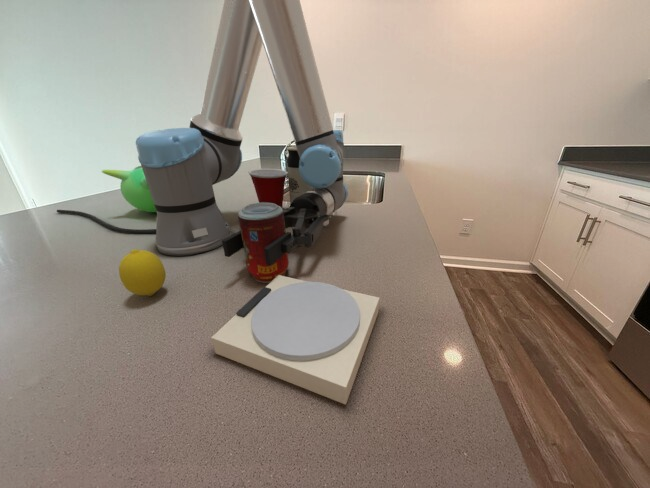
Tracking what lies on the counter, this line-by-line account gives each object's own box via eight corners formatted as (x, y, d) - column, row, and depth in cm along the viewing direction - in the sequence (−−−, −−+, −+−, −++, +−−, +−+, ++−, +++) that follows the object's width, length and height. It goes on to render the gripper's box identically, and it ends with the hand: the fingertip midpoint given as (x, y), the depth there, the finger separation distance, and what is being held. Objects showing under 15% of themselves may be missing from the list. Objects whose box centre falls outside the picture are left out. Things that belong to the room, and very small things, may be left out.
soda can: (246, 268, 47) (235, 203, 42) (284, 261, 50) (278, 198, 44) (251, 289, 41) (238, 217, 36) (293, 279, 44) (288, 210, 38)
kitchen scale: (215, 353, 30) (209, 332, 28) (279, 287, 41) (277, 270, 40) (345, 405, 24) (346, 381, 23) (378, 312, 36) (380, 292, 34)
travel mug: (309, 205, 82) (306, 145, 74) (322, 212, 76) (320, 147, 68) (286, 210, 78) (280, 147, 70) (298, 217, 72) (293, 149, 64)
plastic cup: (283, 218, 71) (279, 174, 66) (247, 216, 74) (240, 174, 68) (295, 207, 81) (293, 167, 76) (264, 205, 83) (259, 167, 78)
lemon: (143, 286, 43) (125, 242, 39) (177, 283, 43) (163, 240, 40) (122, 307, 38) (100, 260, 34) (161, 304, 38) (143, 257, 35)
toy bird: (203, 204, 86) (193, 158, 79) (164, 222, 71) (147, 167, 65) (158, 202, 90) (145, 158, 83) (112, 218, 75) (92, 166, 69)
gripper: (354, 229, 55) (306, 287, 36) (275, 219, 63) (201, 263, 44) (355, 195, 52) (303, 239, 33) (272, 188, 59) (190, 221, 40)
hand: (245, 252), depth 38 cm, fingers closed on soda can, 7 cm apart
